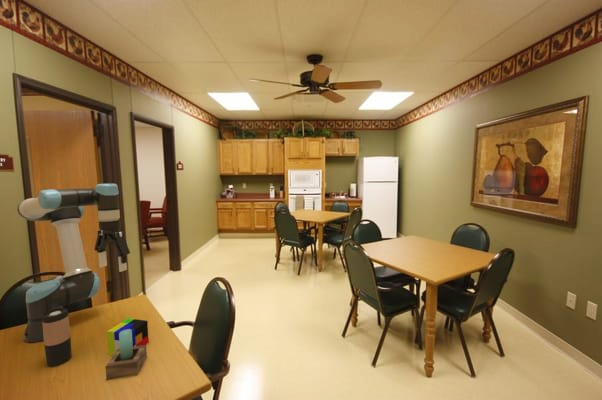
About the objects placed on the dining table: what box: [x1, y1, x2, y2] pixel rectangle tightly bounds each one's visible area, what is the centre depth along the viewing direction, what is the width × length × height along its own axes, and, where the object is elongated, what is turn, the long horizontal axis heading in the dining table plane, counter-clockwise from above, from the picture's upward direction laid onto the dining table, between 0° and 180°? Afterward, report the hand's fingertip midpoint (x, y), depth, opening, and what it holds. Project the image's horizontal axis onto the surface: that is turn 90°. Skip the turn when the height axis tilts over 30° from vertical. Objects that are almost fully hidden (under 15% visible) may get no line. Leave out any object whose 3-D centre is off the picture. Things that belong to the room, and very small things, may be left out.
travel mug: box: [42, 307, 72, 368], centre depth 104 cm, size 8×8×20 cm
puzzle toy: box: [106, 318, 150, 356], centre depth 112 cm, size 10×10×10 cm
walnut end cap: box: [104, 344, 148, 380], centre depth 101 cm, size 10×10×5 cm
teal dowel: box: [119, 329, 134, 361], centre depth 100 cm, size 4×4×12 cm
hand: (113, 268), depth 115 cm, fingers open, 13 cm apart
